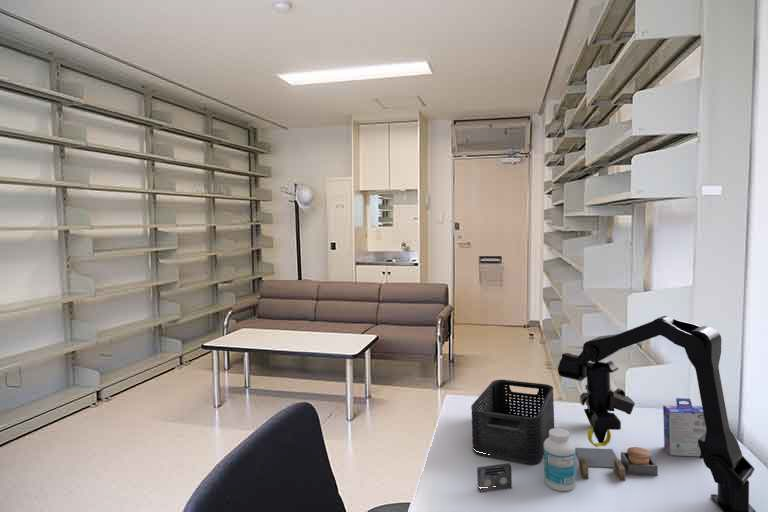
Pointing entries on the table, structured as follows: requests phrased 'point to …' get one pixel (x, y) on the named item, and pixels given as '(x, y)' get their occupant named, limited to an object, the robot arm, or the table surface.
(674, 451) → the ink cartridge box
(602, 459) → the slate mat
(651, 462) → the grey square tray
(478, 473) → the mini dv tape
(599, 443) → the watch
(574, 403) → the table surface
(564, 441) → the pill bottle
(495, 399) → the storage bin
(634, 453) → the tan domed cylinder
